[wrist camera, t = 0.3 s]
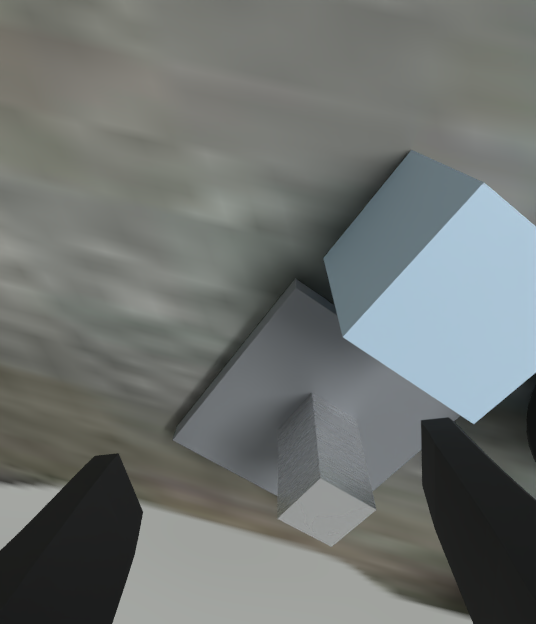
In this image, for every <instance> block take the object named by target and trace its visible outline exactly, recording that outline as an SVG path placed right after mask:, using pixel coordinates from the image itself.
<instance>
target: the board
mask: <svg viewBox="0 0 536 624" xmlns="http://www.w3.org/2000/svg"><path fill="white" fill-rule="evenodd" d="M311 393H314V394H315V395H317V396H319V397H320V398H322V399H323V400H325V401H327V402H328V403H330V404H332V405H333V406H335V407H336V408H338V409H340V410H341V411H343V412H345V413H346V414H348V415H349V416H351V417H353V418H354V419H356V421H357V426H358V430H359V435H360V439H361V444H362V448H363V452H364V457H365V461H366V466H367V470H368V475H369V479H370V484H371V488H372V491H374V490H375V489H376V488H377V487H378V486H379V485H381V484H382V483H383V482H384V481H385V480H386V479H388V478H389V477H390V476H391V475H392V474H393V473H395V472H396V471H397V470H398V469H399V468H400V467H402V466H403V465H404V464H405V463H406V462H407V461H409V460H410V459H411V458H412V457H413V456H414V455H416V454H417V453H418V452H419V451H420V450H421V449H422V447H421V420H428V419H437V418H446V417H449V418H450V419H452V420H453V421H455V420H456V419H458V418H459V417H460V416H461V415H459V414H458V413H456V412H455V411H453V410H452V409H450V408H449V407H447V406H446V405H444V404H443V403H441V402H440V401H438V400H437V399H435V398H434V397H432V396H431V395H429V394H428V393H426V392H425V391H423V390H422V389H420V388H419V387H417V386H416V385H414V384H413V383H411V382H410V381H408V380H406V379H405V378H403V377H402V376H400V375H399V374H397V373H396V372H394V371H393V370H391V369H390V368H388V367H387V366H385V365H384V364H382V363H381V362H379V361H378V360H376V359H375V358H373V357H372V356H370V355H369V354H367V353H366V352H364V351H363V350H361V349H360V348H358V347H357V346H355V345H354V344H352V343H351V342H349V341H348V340H346V339H345V338H343V336H342V332H341V328H340V324H339V320H338V316H337V312H336V308H335V305H334V304H332V303H331V302H329V301H328V300H326V299H325V298H323V297H322V296H320V295H319V294H317V293H316V292H314V291H313V290H312V289H310V288H309V287H307V286H306V285H304V284H303V283H301V282H300V281H298V280H297V279H294V281H293V282H292V283H291V284H290V286H289V287H288V288H287V289H286V291H285V292H284V293H283V294H282V296H281V297H280V298H279V299H278V301H277V302H276V303H275V304H274V306H273V307H272V308H271V309H270V311H269V312H268V313H267V314H266V316H265V317H264V318H263V319H262V321H261V322H260V323H259V324H258V326H257V327H256V328H255V329H254V331H253V332H252V333H251V334H250V336H249V337H248V338H247V339H246V341H245V342H244V343H243V344H242V346H241V347H240V348H239V349H238V351H237V352H236V353H235V354H234V356H233V357H232V358H231V359H230V361H229V362H228V363H227V364H226V366H225V367H224V368H223V369H222V371H221V372H220V373H219V374H218V376H217V377H216V378H215V379H214V381H213V382H212V383H211V384H210V386H209V387H208V388H207V389H206V391H205V392H204V393H203V394H202V396H201V397H200V398H199V399H198V401H197V402H196V403H195V404H194V406H193V407H192V408H191V409H190V411H189V412H188V413H187V414H186V416H185V417H184V418H183V419H182V421H181V422H180V423H179V424H178V426H177V428H176V431H175V434H174V437H173V441H175V442H177V443H179V444H180V445H182V446H184V447H186V448H188V449H190V450H192V451H194V452H196V453H197V454H199V455H201V456H203V457H205V458H207V459H209V460H211V461H212V462H214V463H216V464H218V465H220V466H222V467H224V468H226V469H227V470H229V471H231V472H233V473H235V474H237V475H239V476H241V477H242V478H244V479H246V480H248V481H250V482H252V483H254V484H256V485H258V486H259V487H261V488H263V489H265V490H267V491H269V492H271V493H273V494H274V495H276V496H278V428H279V427H280V426H281V425H282V424H283V423H284V422H285V421H286V420H287V419H288V418H289V417H290V415H291V414H292V413H293V412H294V411H295V410H296V409H297V408H298V407H299V406H300V405H301V404H302V403H303V402H304V401H305V400H306V398H307V397H308V396H309V395H310V394H311Z"/></svg>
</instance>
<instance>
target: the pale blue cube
mask: <svg viewBox="0 0 536 624" xmlns="http://www.w3.org/2000/svg"><path fill="white" fill-rule="evenodd" d="M323 259H324V263H325V267H326V271H327V275H328V279H329V283H330V287H331V291H332V295H333V300H334V304H335V308H336V312H337V316H338V320H339V324H340V328H341V332H342V336H343V338H345V339H346V340H348V341H349V342H351V343H352V344H354V345H355V346H357V347H358V348H360V349H361V350H363V351H364V352H366V353H367V354H369V355H370V356H372V357H373V358H375V359H376V360H378V361H379V362H381V363H382V364H384V365H385V366H387V367H388V368H390V369H391V370H393V371H394V372H396V373H397V374H399V375H400V376H402V377H403V378H405V379H406V380H408V381H410V382H411V383H413V384H414V385H416V386H417V387H419V388H420V389H422V390H423V391H425V392H426V393H428V394H429V395H431V396H432V397H434V398H435V399H437V400H438V401H440V402H441V403H443V404H444V405H446V406H447V407H449V408H450V409H452V410H453V411H455V412H456V413H458V414H459V415H461V416H462V417H464V418H465V419H467V420H468V421H470V422H471V423H473V424H475V423H476V422H477V421H478V420H479V419H481V418H482V417H483V416H484V415H485V414H487V413H488V412H489V411H490V410H491V409H493V408H494V407H495V406H496V405H497V404H499V403H500V402H501V401H502V400H503V399H505V398H506V397H507V396H508V395H509V394H511V393H512V392H513V391H514V390H515V389H517V388H518V387H519V386H520V385H521V384H523V383H524V382H525V381H526V380H527V379H529V378H530V377H531V376H532V375H533V374H535V373H536V226H534V225H533V224H532V223H531V222H530V221H529V220H527V219H526V218H525V217H524V216H523V215H522V214H520V213H519V212H518V211H517V210H516V209H515V208H513V207H512V206H511V205H510V204H509V203H507V202H506V201H505V200H504V199H503V198H502V197H500V196H499V195H498V194H497V193H496V192H495V191H493V190H492V189H491V188H490V187H489V186H488V185H486V184H485V183H484V182H482V181H480V180H477V179H475V178H473V177H471V176H468V175H466V174H464V173H462V172H460V171H457V170H455V169H453V168H451V167H449V166H446V165H444V164H442V163H440V162H437V161H435V160H433V159H431V158H429V157H426V156H424V155H422V154H420V153H417V152H415V151H413V150H411V151H410V152H409V153H408V155H407V156H406V157H405V158H404V160H403V161H402V162H401V163H400V164H399V166H398V167H397V168H396V169H395V171H394V172H393V173H392V174H391V176H390V177H389V178H388V179H387V180H386V182H385V183H384V184H383V185H382V187H381V188H380V189H379V190H378V192H377V193H376V194H375V195H374V196H373V198H372V199H371V200H370V201H369V203H368V204H367V205H366V206H365V208H364V209H363V210H362V211H361V212H360V214H359V215H358V216H357V217H356V219H355V220H354V221H353V222H352V224H351V225H350V226H349V227H348V228H347V230H346V231H345V232H344V233H343V235H342V236H341V237H340V238H339V240H338V241H337V242H336V243H335V244H334V246H333V247H332V248H331V249H330V251H329V252H328V253H327V254H326V256H325V257H324V258H323Z"/></svg>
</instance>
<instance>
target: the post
mask: <svg viewBox="0 0 536 624" xmlns="http://www.w3.org/2000/svg"><path fill="white" fill-rule="evenodd" d="M375 510H376V506H375V501H374V497H373V493H372V488H371V484H370V479H369V475H368V470H367V466H366V461H365V457H364V452H363V448H362V444H361V439H360V435H359V430H358V426H357V421H356V419H354V418H353V417H351V416H349V415H348V414H346V413H345V412H343V411H341V410H340V409H338V408H336V407H335V406H333V405H332V404H330V403H328V402H327V401H325V400H323V399H322V398H320V397H319V396H317V395H315V394H314V393H311V394H310V395H309V396H308V397H307V398H306V400H305V401H304V402H303V403H302V404H301V405H300V406H299V407H298V408H297V409H296V410H295V411H294V412H293V413H292V414H291V415H290V417H289V418H288V419H287V420H286V421H285V422H284V423H283V424H282V425H281V426H280V427H279V428H278V506H277V519H279V520H281V521H283V522H285V523H287V524H289V525H290V526H292V527H294V528H296V529H298V530H300V531H302V532H304V533H306V534H308V535H310V536H312V537H314V538H316V539H318V540H319V541H321V542H323V543H325V544H327V545H329V546H331V547H332V546H333V545H334V544H335V543H337V542H338V541H339V540H340V539H341V538H343V537H344V536H345V535H346V534H348V533H349V532H350V531H351V530H352V529H354V528H355V527H356V526H357V525H358V524H360V523H361V522H362V521H363V520H364V519H366V518H367V517H368V516H369V515H370V514H372V513H373V512H374V511H375Z"/></svg>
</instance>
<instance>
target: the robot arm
mask: <svg viewBox="0 0 536 624" xmlns="http://www.w3.org/2000/svg"><path fill="white" fill-rule="evenodd" d="M421 447H422V486H423V489H424V493H425V496H426V500H427V503H428V507H429V510H430V514H431V517H432V520H433V524H434V527H435V530H436V533H437V535H438V538H439V541H440V543H441V545H442V548H443V550H444V553H445V555H446V558H447V560H448V563H449V565H450V568H451V570H452V573H453V575H454V577H455V580H456V582H457V585H458V587H459V590H460V592H461V595H462V597H463V599H464V602H465V604H466V607H467V609H468V612H469V614H470V617H471V619H472V621H473V624H536V500H535V499H534V498H533V497H532V496H531V495H530V494H528V493H527V492H526V491H525V490H524V489H523V488H522V487H521V486H520V485H518V484H517V483H516V482H515V481H514V480H513V479H512V478H511V477H510V476H509V475H507V474H506V473H505V472H504V471H503V470H502V469H501V468H500V467H499V466H498V465H497V464H496V463H495V462H494V461H493V460H492V459H491V458H489V457H488V456H487V455H486V454H485V453H484V452H483V451H482V450H481V449H480V448H479V447H478V446H477V445H476V444H475V443H474V442H473V441H472V440H471V439H470V438H469V437H468V436H467V435H466V434H465V432H464V431H463V430H462V429H461V428H460V427H459V426H458V425H457V424H456V423H455V422H454V421H453V420H452V419H450V418H449V417H446V418H437V419H428V420H421ZM142 514H143V511H142V508H141V506H140V504H139V501H138V499H137V496H136V494H135V492H134V489H133V487H132V484H131V482H130V480H129V477H128V475H127V473H126V470H125V468H124V465H123V463H122V461H121V458H120V456H119V453H118V454H109V455H99V456H94V457H93V458H92V459H91V460H90V461H89V462H88V463H87V464H86V465H85V466H84V467H83V468H82V469H81V470H80V471H79V472H78V473H77V474H76V475H75V476H74V477H73V478H72V479H71V480H70V481H69V482H68V483H67V484H66V485H65V486H64V487H63V488H62V490H61V491H60V492H59V493H58V494H57V495H56V496H55V497H54V498H53V499H52V500H51V501H50V502H49V503H48V504H47V505H46V506H45V507H44V508H43V509H42V510H41V511H40V512H39V513H38V514H37V515H36V516H35V517H34V518H33V519H32V520H31V521H30V522H29V523H28V524H27V525H26V526H25V527H24V528H23V529H22V530H21V531H20V532H19V533H18V534H17V535H16V536H15V537H14V538H13V539H12V540H11V541H10V542H9V543H8V544H7V545H6V546H5V547H4V548H3V549H1V550H0V624H112V623H113V619H114V617H115V614H116V610H117V608H118V604H119V601H120V598H121V595H122V593H123V589H124V586H125V583H126V580H127V577H128V574H129V571H130V568H131V564H132V561H133V558H134V555H135V550H136V545H137V541H138V536H139V531H140V525H141V520H142Z"/></svg>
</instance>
